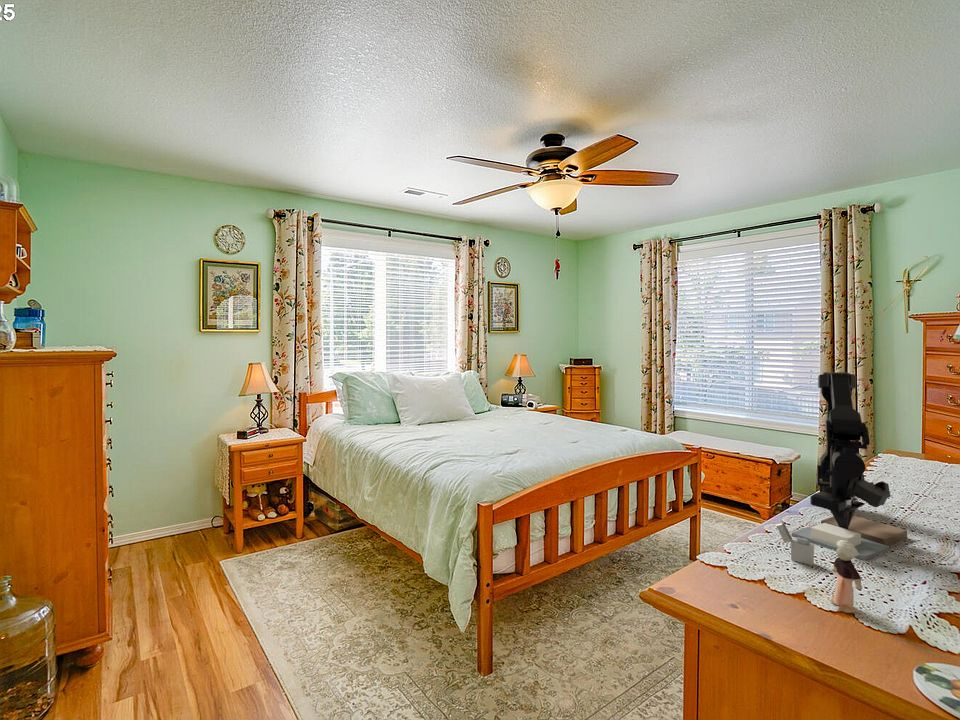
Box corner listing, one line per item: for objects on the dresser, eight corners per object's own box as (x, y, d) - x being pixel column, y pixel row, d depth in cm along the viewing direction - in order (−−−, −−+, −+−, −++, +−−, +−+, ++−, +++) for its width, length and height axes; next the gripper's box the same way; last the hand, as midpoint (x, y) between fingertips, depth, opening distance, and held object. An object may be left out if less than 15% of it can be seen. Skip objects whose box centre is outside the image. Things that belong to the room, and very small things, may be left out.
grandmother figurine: (819, 598, 95) (820, 533, 95) (838, 596, 96) (838, 532, 95) (852, 620, 88) (853, 551, 87) (872, 619, 88) (873, 549, 88)
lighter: (813, 563, 110) (814, 527, 109) (812, 565, 108) (812, 530, 108) (777, 554, 115) (777, 520, 114) (775, 556, 113) (775, 522, 113)
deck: (821, 528, 129) (821, 520, 129) (843, 520, 134) (843, 512, 134) (884, 547, 116) (884, 539, 116) (907, 538, 122) (907, 530, 121)
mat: (791, 535, 124) (791, 532, 124) (816, 527, 130) (816, 524, 130) (864, 560, 110) (864, 557, 110) (889, 549, 115) (889, 546, 115)
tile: (810, 537, 121) (810, 527, 121) (824, 532, 124) (824, 522, 124) (847, 549, 114) (847, 538, 114) (860, 543, 117) (860, 533, 117)
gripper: (862, 482, 109) (861, 551, 109) (903, 469, 117) (902, 533, 118) (809, 470, 119) (808, 534, 119) (850, 459, 127) (850, 519, 128)
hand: (844, 530), depth 121 cm, fingers closed
